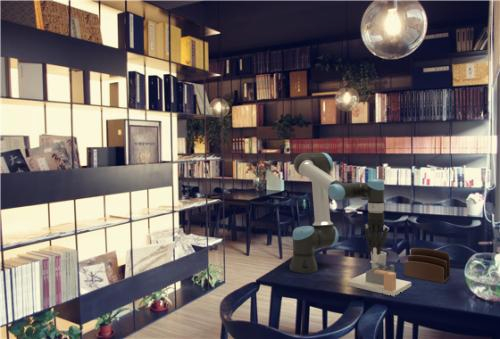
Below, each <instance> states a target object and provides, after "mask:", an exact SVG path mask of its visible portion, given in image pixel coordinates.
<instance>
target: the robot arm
mask: <svg viewBox="0 0 500 339" xmlns="http://www.w3.org/2000/svg"><path fill="white" fill-rule="evenodd" d="M293 168H294V171H295V172H296V173H297V174H298V175H299V176H301V177H303V178H305V177H306V178H307V179H309V180H310V181H311V186H312V202H313V214H314V222H313V223H312V225H303V226H297V227H296V228H294V229H293V231H292V238H291V239H292V257H291V260H290V262H289V270H290V271H292V272H294V273H298V274H299V273H300V274H310V273H311V274H312V273H315V272H317V271H318V264H317V260H316V258H315V250H320V249H328V248H329V249H330V248H333V247H335V246H336V245H337V243H338V240H339V231H338V230H337V227H336V226H334V222H332V221H331V216H330V200H329V199H331V200H334V201H335V200H337V201H340V200H341V201H342V200H347V199H348V200H349V199H367V211H368V212H367V223H365V224H364V225H362V228H363V230H364V234H365V238H366V239H365V240H366V243H367V246H369V247H371V252H372V254H373V261H375V262H377V261H379V254H380V253H381V251H382V250H381V248H383V247H385V244H386V240H387V236H388V232H389V230H390V226H389V227H388V226H387V225H386V223H385V181H384V179H378V178H375V179H374V178H373V179H371V178H370V179H367V182H362V181H361V182H360V181H357V182H348V183H347V182H346V183H344V182H341V181H339V180H338V179H336V178H335V177H333V176H332V175H330V173H331V172H332V171H333V168H334V163H333V159H332V156H330V155H329V153H326V152H302V153H300V154H299V155H298V154H297V156H296V157H295V158H294V161H293Z"/></svg>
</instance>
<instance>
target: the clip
mask: <svg viewBox="0 0 500 339" xmlns="http://www.w3.org/2000/svg"><path fill="white" fill-rule="evenodd" d="M374 273H378V274H383V275H384V290H388V291H394V290H395V289H396V279H397V272H395V271H394V272H389V271H383V270H378V269H377V270H375V271H374Z"/></svg>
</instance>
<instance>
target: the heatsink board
mask: <svg viewBox="0 0 500 339" xmlns="http://www.w3.org/2000/svg"><path fill="white" fill-rule="evenodd" d="M380 264H383V263H380ZM377 269H378V270H383V271H389V272H394V273H395V264H390V265H389V269H385V270H384V269H383V268H382V267H381V266H378V268H374V269H373V268H372V267H371V269H368V270H366V271H365V273H362V274H360V275H357V276H356V277H353V278H351V279H349V280H347V281H346V285H347V286H348V287H353V288H358V289H361V290H367V291H370V292H375V293H378V294H382V293H383V295H387V296H390V295H391V297H396V296H397V295H399V294H400V292H401V293H403V292H404V291H405V290H408V289H409V288H411V287H412V282H411V281H408V280H405V279H404V280H403V279H398V278H396V289H395V290H394V291H388V290H384V275H383V274H378V273H374V271H375V270H377ZM395 295H396V296H395Z"/></svg>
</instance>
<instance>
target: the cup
mask: <svg viewBox="0 0 500 339" xmlns="http://www.w3.org/2000/svg"><path fill="white" fill-rule="evenodd" d="M370 257H371V258H370V259H371V260H370V261H373V254H372V251H370ZM374 262H375V261H374ZM377 262H378V263H383V265H385V266H387V265H386V263H387V252H385V251H382V250H381V253H380V254H379V261H377ZM372 268H373V269H374V268H378V265H375V264H373V263H371V269H372ZM383 269H384V270H386V268H383Z"/></svg>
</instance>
